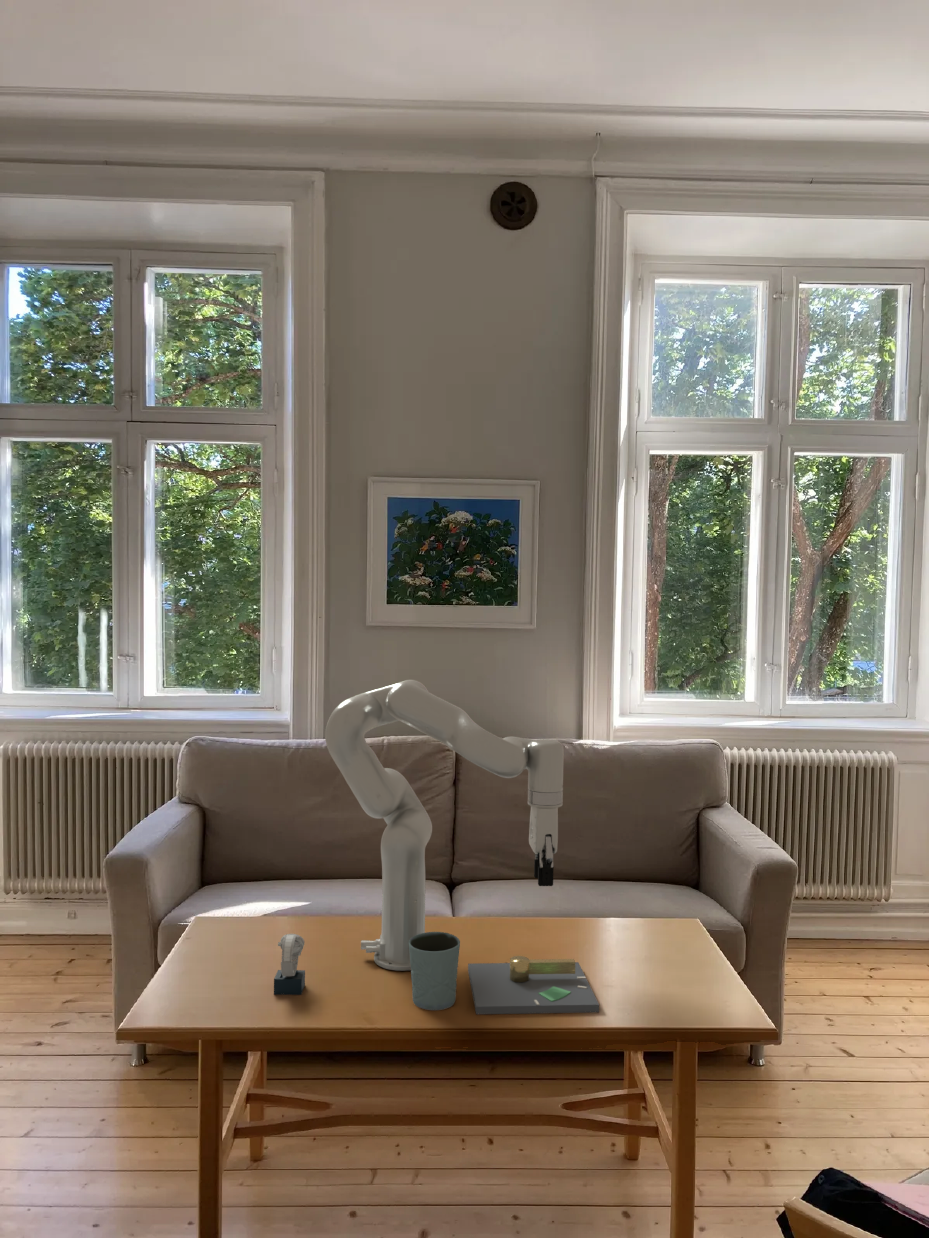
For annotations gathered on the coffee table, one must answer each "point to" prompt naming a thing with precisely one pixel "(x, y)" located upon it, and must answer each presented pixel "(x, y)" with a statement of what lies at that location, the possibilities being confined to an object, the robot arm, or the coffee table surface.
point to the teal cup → (434, 969)
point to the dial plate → (529, 991)
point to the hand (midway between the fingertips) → (543, 880)
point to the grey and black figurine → (290, 967)
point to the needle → (538, 967)
